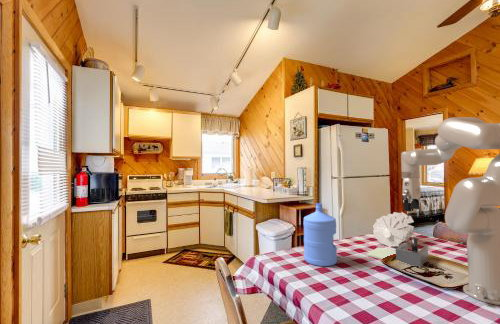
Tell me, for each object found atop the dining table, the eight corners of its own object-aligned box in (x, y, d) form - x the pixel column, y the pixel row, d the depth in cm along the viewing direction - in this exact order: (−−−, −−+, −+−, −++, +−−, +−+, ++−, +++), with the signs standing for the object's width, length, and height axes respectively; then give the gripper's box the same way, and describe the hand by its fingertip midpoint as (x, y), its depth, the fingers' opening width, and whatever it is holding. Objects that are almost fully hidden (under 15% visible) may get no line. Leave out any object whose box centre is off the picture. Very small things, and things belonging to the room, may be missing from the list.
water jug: (314, 268, 108) (313, 206, 109) (298, 256, 123) (297, 202, 124) (344, 264, 112) (342, 204, 113) (325, 253, 127) (323, 201, 128)
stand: (419, 260, 117) (418, 239, 117) (408, 257, 120) (407, 238, 120) (421, 257, 120) (420, 238, 120) (411, 255, 123) (410, 236, 123)
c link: (420, 267, 108) (420, 254, 108) (396, 261, 115) (395, 249, 116) (428, 259, 118) (427, 247, 118) (404, 254, 125) (404, 242, 125)
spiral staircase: (379, 253, 139) (393, 241, 156) (411, 246, 127) (422, 234, 144) (363, 222, 145) (379, 215, 162) (392, 213, 133) (405, 206, 150)
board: (390, 261, 116) (390, 259, 116) (366, 255, 124) (366, 254, 124) (400, 253, 126) (400, 251, 126) (378, 248, 135) (378, 247, 135)
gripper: (412, 176, 112) (413, 213, 111) (425, 175, 122) (426, 208, 121) (394, 176, 118) (395, 210, 117) (409, 175, 128) (410, 207, 128)
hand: (411, 209), depth 119 cm, fingers open, 9 cm apart
